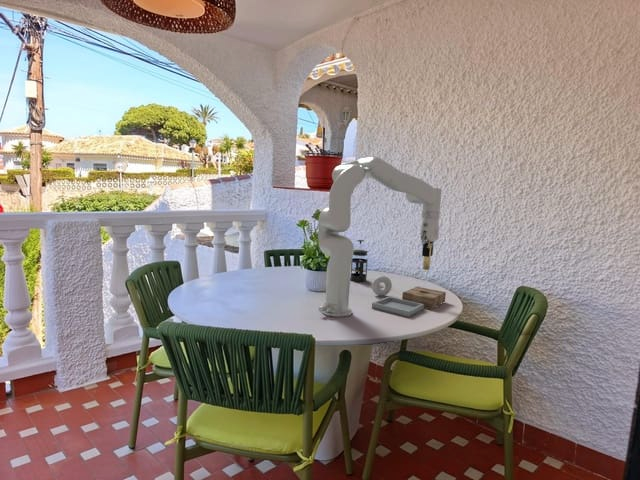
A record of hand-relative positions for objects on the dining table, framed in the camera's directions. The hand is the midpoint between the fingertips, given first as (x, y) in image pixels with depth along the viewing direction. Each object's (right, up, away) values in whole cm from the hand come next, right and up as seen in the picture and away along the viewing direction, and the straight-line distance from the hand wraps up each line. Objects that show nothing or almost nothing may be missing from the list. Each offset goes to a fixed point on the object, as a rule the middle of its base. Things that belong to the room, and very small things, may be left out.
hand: (427, 255), depth 175 cm
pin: (0, -6, +1) cm, 6 cm away
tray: (-15, -23, -9) cm, 29 cm away
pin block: (-1, -22, +3) cm, 22 cm away
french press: (-27, -16, +42) cm, 52 cm away
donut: (-19, -20, +12) cm, 30 cm away
